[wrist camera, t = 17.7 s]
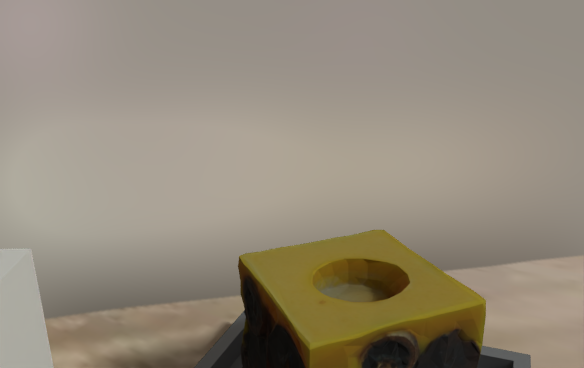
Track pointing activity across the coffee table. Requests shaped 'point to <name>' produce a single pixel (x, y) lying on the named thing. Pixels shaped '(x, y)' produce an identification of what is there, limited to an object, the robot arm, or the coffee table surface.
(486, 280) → the coffee table surface
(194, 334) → the coffee table surface
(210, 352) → the tray
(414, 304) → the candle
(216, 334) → the coffee table surface
